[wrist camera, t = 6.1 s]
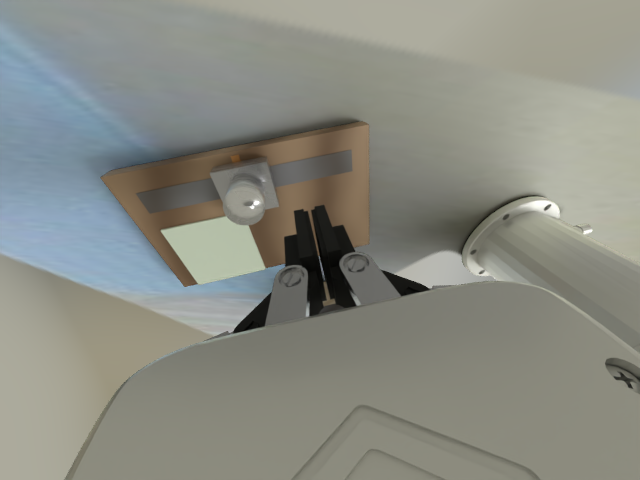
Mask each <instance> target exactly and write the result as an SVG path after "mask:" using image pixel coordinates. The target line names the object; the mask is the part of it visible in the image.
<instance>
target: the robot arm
mask: <svg viewBox="0 0 640 480" xmlns="http://www.w3.org/2000/svg"><path fill="white" fill-rule="evenodd" d="M311 213H312V218H313V224H314V229H315V234H316V240H317V245H318V250H319V255H320V259H321V263H322V267H323V271H324V276H325V280H326V284H327V288H328V292H329V297H330V300H331V299H334V300H335V303H336V305H340V306H342V307H344V308H345V309H341V310H336V311H332V312H327V313H323V314H319V312H320V311H321V310H322V309H323V308H324V306H323V301H327V298H326V293H325V288H324V283H323V278H322V272H321V267H320V262H319V257H318V252H317V248H316V244H315V239H314V235H313V231H312V226H311V222H310V218H309V213H308V211H304V209H300V210H295V211H294V218H295V226H296V234H295V235H290V236H285V237H284V246H285V268H283V269H281V270H280V271H279V272H278V273H277V274H276V277H275V280H274V285H273V290H272V292H271V293H270V294H269V295H268V296H267V297H266V298H265V299H264V300H263V301H262V302H261V303H260V304H259V305H258V306H257V307H256V308H255V309H254V310H253V311H252V312H251V313H250V314H249V315H248V316H246V317H245V318H244V319H243V320H242V321H241V322H240V323H239V324H238V326H237V327H236V328H235V330H234V331H233V332H231V333H229V332H228V331H226V332H224V333H222V334H219V335H217V336H215V337H212V338H210V339H208V340H205V341H203V342H200V343H196V344H193V345H190V346H187V347H184V348H181V349H179V350H176V351H174V352H172V353H169V354H167V355H165V356H163V357H161V358H159V359H158V360H155V361H154V362H152V363H150V364H148V365H146V366H145V367H143V368H142V369H140V370H139V371H138V372H136V373H135V374H133V375H132V376H131V377H130V378H129V379H127V380H126V382H124V383H123V384H122V385H121V387H120V388H119V389H118V390H117V391H116V392H115V394H114V395H113V397H112V398H111V400H110V401H109V402H108V404H107V405H106V407H105V408H104V410H103V412H102V413H101V415H100V417H99V418H98V420H97V421H96V423H95V425H94V426H93V428H92V430H91V432H90V433H89V435H88V437H87V439H86V440H85V442H84V444H83V446H82V447H81V450H80V451H79V453H78V455H77V457H76V459H75V461H74V463H73V465H72V467H71V468H70V470H69V472H68V474H67V476H66V478H65V479H64V480H640V263H639V262H637V261H635V260H633V259H631V258H629V257H627V256H625V255H623V254H621V253H619V252H617V251H616V250H614V249H612V248H610V247H608V246H606V245H604V244H602V243H600V242H598V241H596V240H594V239H592V238H590V237H588V236H586V234H589V233H591V232H592V227H591V226H590V225H589V224H580V225H576V226H571V225H570V224H568V223H566V222H564V221H562V220H560V210H559V207H558V205H557V204H555V203H554V202H553V201H551V200H549V199H546V198H544V197H539V196H535V197H527V198H522V199H519V200H516V201H514V202H511V203H509V204H507V205H505V206H503V207H501V208H500V209H498V210H497V211H495V212H494V213H492V214H491V215H490V216H489V217H487V218H486V219H485V220H484V221H483V222H482V223H481V224H480V225H479V226H478V227H477V228H476V229H475V230H474V231H473V233H472V234H471V235H470V237H469V238H468V240H467V242H466V243H465V246H464V249H463V252H462V262H463V265H464V266H465V267H466V268H467V269H468V270H469V271H470V272H471V273H472V274H474V275H478V276H490V275H491V276H492V277H493V278H495V279H496V280H497V281H483V282H473V283H467V284H461V285H446V286H445V285H444V286H433V287H432V288H431V289H429V288H427V287H426V286H424V285H422V284H420V283H417V282H414V281H411V280H408V279H405V278H402V277H400V276H397V275H394V274H391V273H389V272H386V271H383V270H380V269H379V267H378V266H377V265H376V263H375V262H374V261H373V260H372V258H371V257H370V256H368V255H367V254H365V253H361V252H355V250H354V248H353V245H352V243H351V241H350V239H349V236H348V234H347V232H346V230H345V227H344V225H338V226H333V227H332V225H331V222H330V219H329V216H328V214H327V211H326V208H325V206H324V205H320V206H315V207H314V209H313V210H311Z"/></svg>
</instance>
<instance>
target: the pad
mask: <svg viewBox="0 0 640 480" xmlns="http://www.w3.org/2000/svg"><path fill="white" fill-rule="evenodd" d="M161 232H162V234H163V235H164V237H165V238H166V239H167V241H168V242H169V244H170V245H171V246H172V248H173V249H174V251H175V252H176V253H177V255H178V256H179V258H180V259H181V261H182V262H183V263H184V265H185V266H186V268H187V269H188V270H189V272H190V273H191V275H192V276H193V278H194V279H195V280H196V282H197V283H198V285H201V284H205V283H210V282H214V281H218V280H223V279H227V278H231V277H235V276H240V275H244V274H248V273H253V272H257V271H261V270H265V269H266V268H265V265H264V263H263V260H262V258H261V255H260V253H259V250H258V248H257V245H256V243H255V240H254V238H253V235H252V233H251V231H250V228H249V226H248V225H239V224H236V223H234V222H232V221H231V220H229V219H228V218H227V216H221V217H217V218H212V219H207V220H203V221H198V222H194V223H189V224H184V225H180V226H175V227H170V228H166V229H161Z"/></svg>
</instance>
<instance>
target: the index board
mask: <svg viewBox="0 0 640 480" xmlns="http://www.w3.org/2000/svg"><path fill="white" fill-rule="evenodd" d="M265 156H267V159H268V163H269V166H270V170H271V174H272V177H273V181H274V184H275V188H276V192H277V195H278V199H279V207H275V208H270V209H266V210H265V212H264V215H263V217H262V218H261V220H260V221H258V222H257V223H255V224H252V225H248V226H249V228H250V231H251V233H252V235H253V238H254V240H255V243H256V245H257V248H258V250H259V253H260V255H261V258H262V260H263V263H264V265H265V268H268V267H273V266H277V265H281V264H285V246H284V237H285V236H290V235H295V234H296V226H295V218H294V211H295V210H300V209H304V211H308V213H309V218H310V222H311V226H312V231H313V235H314V239H315V244H316V248H317V252H318V256H320V255H319V250H318V245H317V240H316V234H315V229H314V224H313V218H312V213H311V210H313V209H314V207H315V206H320V205H324V206H325V208H326V211H327V214H328V216H329V219H330V222H331V225H332V227H333V226H338V225H344V227H345V230H346V232H347V234H348V236H349V239H350V241H351V243H352V245H353V248H354V247H358V246H363V245H367V244H369V124H367V123H365V122H363V121H361V122H356V123H351V124H345V125H340V126H335V127H330V128H325V129H320V130H315V131H310V132H304V133H299V134H294V135H289V136H284V137H279V138H274V139H269V140H264V141H258V142H253V143H248V144H243V145H238V146H233V147H228V148H223V149H217V150H212V151H207V152H202V153H197V154H192V155H187V156H182V157H177V158H171V159H166V160H161V161H156V162H151V163H146V164H141V165H136V166H131V167H125V168H120V169H115V170H111V171H109V172H108V173H106V174H105V175H103V176H102V177H100V178H101V179H102V181H103V182H104V183H105V184H106V186H107V187H108V188H109V190H110V191H111V192H112V193H113V195H114V196H115V197H116V199H117V200H118V201H119V203H120V204H121V205H122V206H123V208H124V209H125V210H126V212H127V213H128V214H129V216H130V217H131V218H132V219H133V221H134V222H135V223H136V225H137V226H138V227H139V228H140V230H141V231H142V232H143V234H144V235H145V236H146V238H147V239H148V240H149V241H150V243H151V244H152V245H153V247H154V248H155V249H156V250H157V252H158V253H159V254H160V256H161V257H162V258H163V260H164V261H165V262H166V263H167V265H168V266H169V267H170V269H171V270H172V271H173V272H174V274H175V275H176V276H177V278H178V279H179V280H180V282H181V283H182V284H183V285H184V287H187V286H191V285H195V284H198V283H197V282H196V280H195V279H194V278H193V276H192V275H191V273H190V272H189V270H188V269H187V268H186V266H185V265H184V263H183V262H182V261H181V259H180V258H179V256H178V255H177V253H176V252H175V251H174V249H173V248H172V246H171V245H170V244H169V242H168V241H167V239H166V238H165V237H164V235H163V234H162V232H161V229H166V228H170V227H175V226H180V225H184V224H189V223H194V222H198V221H203V220H207V219H212V218H217V217H221V216H226V215H225V213H224V211H223V202H222V200H221V198H220V195H219V193H218V191H217V189H216V187H215V184H214V182H213V180H212V178H211V176H210V172H211V170H212V168H213V167H215V166H220V165H225V164H230V163H235V162H240V161H245V160H250V159H255V158H260V157H265Z"/></svg>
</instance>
